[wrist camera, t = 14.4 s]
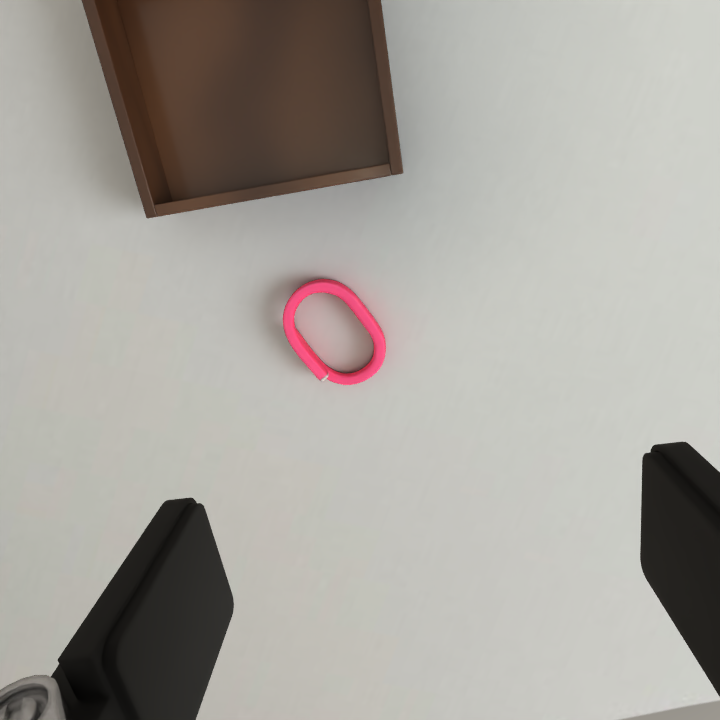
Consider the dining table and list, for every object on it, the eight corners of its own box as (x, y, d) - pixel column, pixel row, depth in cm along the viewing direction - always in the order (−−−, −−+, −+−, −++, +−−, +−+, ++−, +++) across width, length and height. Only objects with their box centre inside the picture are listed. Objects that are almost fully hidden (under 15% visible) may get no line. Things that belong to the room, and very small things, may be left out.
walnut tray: (368, -81, 29) (366, -111, 26) (402, 172, 33) (403, 173, 30) (101, -20, 30) (69, -41, 27) (167, 214, 35) (146, 218, 32)
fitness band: (268, 310, 37) (263, 315, 35) (332, 261, 35) (330, 265, 34) (338, 394, 39) (335, 403, 37) (401, 351, 37) (402, 359, 36)
